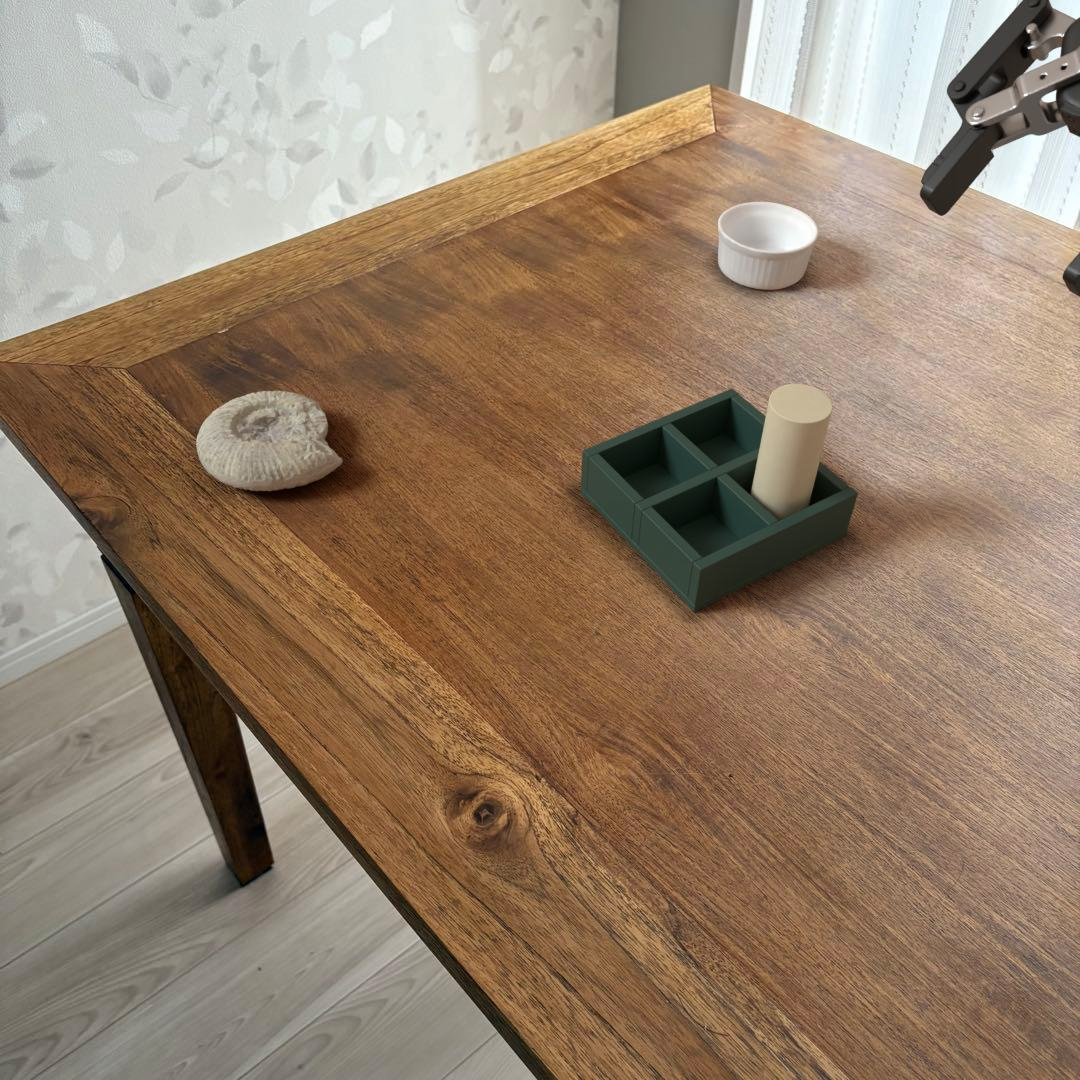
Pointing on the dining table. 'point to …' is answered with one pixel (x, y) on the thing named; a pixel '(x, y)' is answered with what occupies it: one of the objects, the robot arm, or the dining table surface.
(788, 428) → the cylinder
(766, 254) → the ramekin
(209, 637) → the dining table surface
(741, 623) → the dining table surface
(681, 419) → the grid
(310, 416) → the fossil
